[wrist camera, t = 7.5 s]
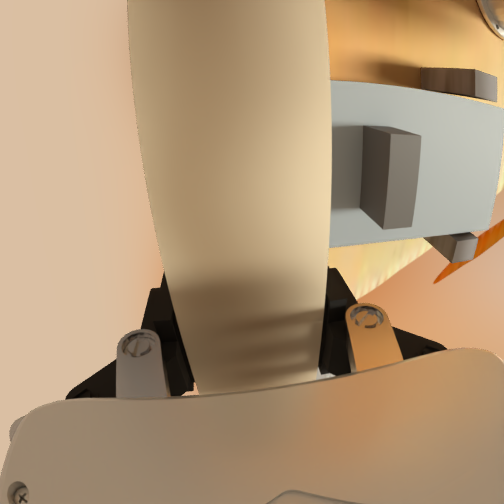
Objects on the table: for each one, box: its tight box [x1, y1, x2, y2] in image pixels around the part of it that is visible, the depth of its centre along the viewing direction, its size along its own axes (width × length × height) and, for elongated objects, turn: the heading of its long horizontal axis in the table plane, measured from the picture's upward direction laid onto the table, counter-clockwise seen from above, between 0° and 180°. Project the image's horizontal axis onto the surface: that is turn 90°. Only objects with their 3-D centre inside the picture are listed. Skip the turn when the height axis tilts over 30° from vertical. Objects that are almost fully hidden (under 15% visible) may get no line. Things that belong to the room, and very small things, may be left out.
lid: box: [329, 80, 504, 248], centre depth 26 cm, size 26×16×8 cm, turn 93°
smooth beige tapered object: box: [127, 0, 332, 395], centre depth 11 cm, size 4×24×4 cm, turn 4°
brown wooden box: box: [421, 68, 497, 263], centre depth 31 cm, size 26×23×10 cm
